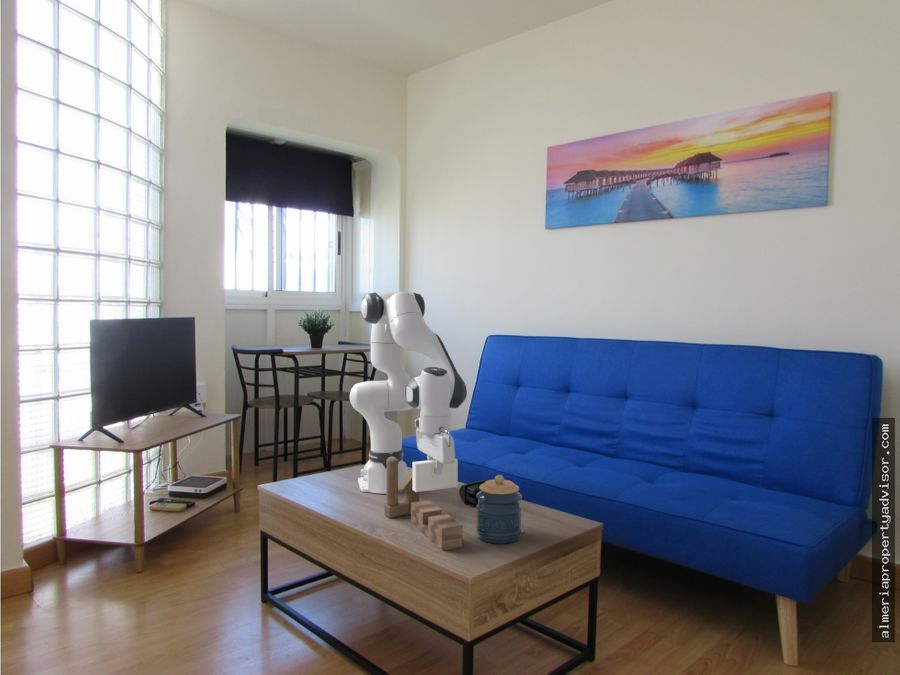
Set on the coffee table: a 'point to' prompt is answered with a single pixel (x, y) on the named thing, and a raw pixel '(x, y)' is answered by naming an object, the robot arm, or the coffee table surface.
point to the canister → (499, 511)
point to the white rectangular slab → (433, 476)
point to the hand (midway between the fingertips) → (435, 472)
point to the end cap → (470, 493)
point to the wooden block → (398, 491)
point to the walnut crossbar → (436, 525)
